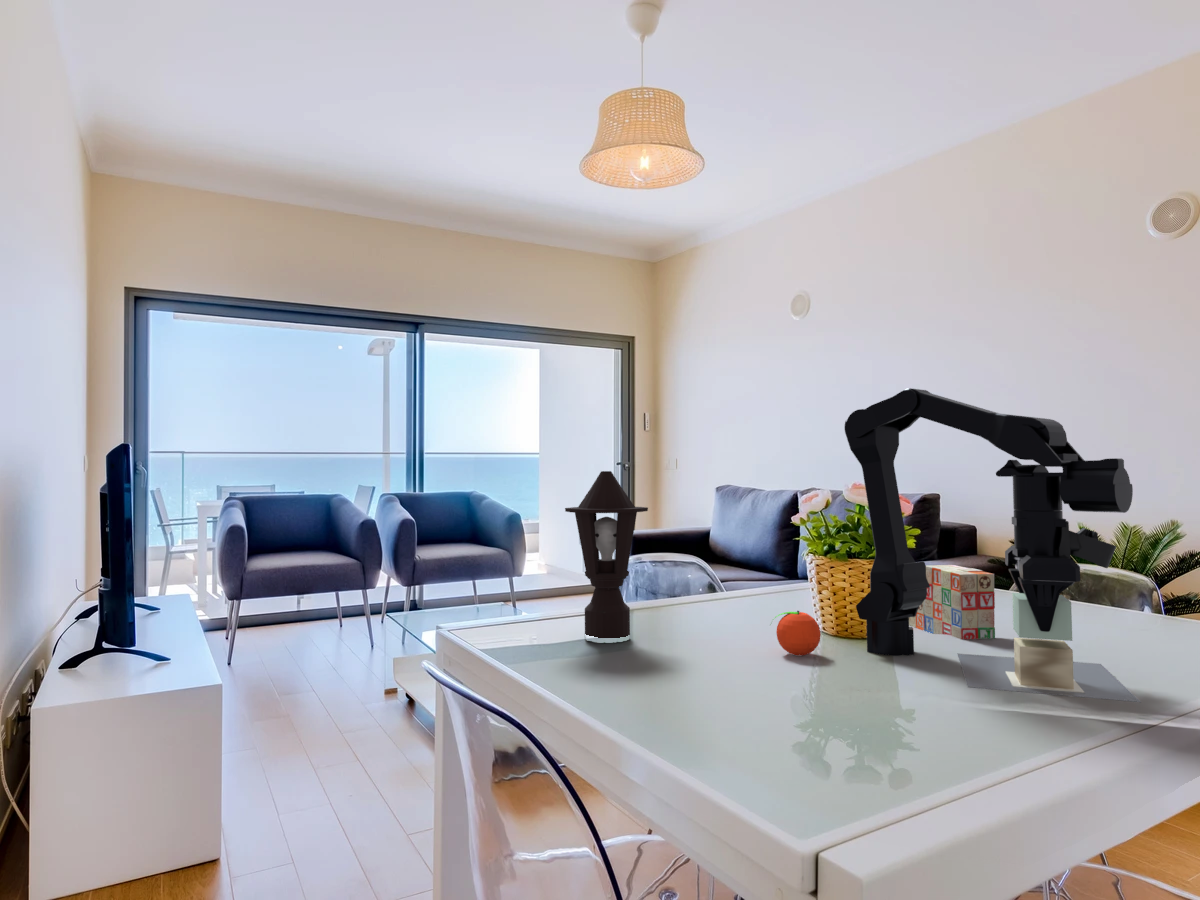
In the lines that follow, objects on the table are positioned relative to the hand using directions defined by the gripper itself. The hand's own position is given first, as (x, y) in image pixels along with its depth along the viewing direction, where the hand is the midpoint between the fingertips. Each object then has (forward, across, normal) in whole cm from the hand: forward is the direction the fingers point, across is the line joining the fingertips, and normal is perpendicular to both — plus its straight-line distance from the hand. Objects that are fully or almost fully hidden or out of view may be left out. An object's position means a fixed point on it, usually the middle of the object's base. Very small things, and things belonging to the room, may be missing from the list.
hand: (1040, 626), depth 101 cm
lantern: (+9, +10, +66) cm, 68 cm away
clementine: (+9, +9, +34) cm, 36 cm away
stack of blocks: (+9, +36, +10) cm, 39 cm away
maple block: (+7, 0, 0) cm, 7 cm away
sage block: (+1, 0, 0) cm, 1 cm away
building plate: (+8, +4, 0) cm, 9 cm away
